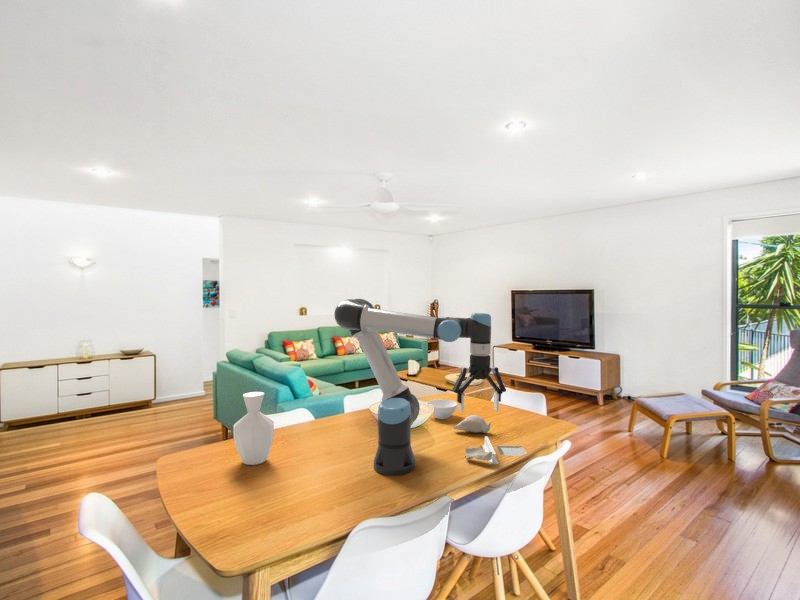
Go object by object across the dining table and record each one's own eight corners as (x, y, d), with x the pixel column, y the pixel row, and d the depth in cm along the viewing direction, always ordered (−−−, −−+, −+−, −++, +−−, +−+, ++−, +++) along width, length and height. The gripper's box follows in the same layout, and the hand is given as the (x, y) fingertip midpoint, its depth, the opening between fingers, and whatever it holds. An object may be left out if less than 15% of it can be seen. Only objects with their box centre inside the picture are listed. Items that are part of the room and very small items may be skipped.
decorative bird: (490, 434, 171) (491, 417, 173) (453, 428, 174) (455, 410, 176) (488, 435, 179) (490, 418, 181) (453, 429, 182) (455, 412, 184)
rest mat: (502, 458, 149) (502, 457, 149) (496, 446, 161) (496, 445, 161) (534, 458, 148) (534, 458, 148) (526, 446, 160) (526, 446, 160)
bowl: (441, 410, 212) (441, 397, 212) (464, 417, 200) (464, 403, 200) (419, 416, 202) (419, 402, 202) (442, 424, 190) (442, 409, 189)
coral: (491, 461, 140) (489, 448, 141) (463, 461, 144) (461, 448, 145) (495, 457, 145) (493, 445, 146) (467, 458, 149) (466, 445, 150)
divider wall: (490, 464, 143) (490, 453, 143) (482, 446, 161) (482, 436, 161) (498, 464, 143) (498, 453, 143) (489, 446, 161) (489, 436, 161)
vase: (281, 455, 153) (280, 390, 153) (258, 470, 139) (258, 400, 139) (249, 451, 157) (249, 388, 156) (224, 466, 143) (224, 397, 143)
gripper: (451, 356, 142) (449, 414, 142) (515, 355, 146) (514, 412, 146) (445, 353, 149) (443, 408, 150) (507, 352, 153) (505, 407, 154)
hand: (478, 411), depth 148 cm, fingers open, 13 cm apart
